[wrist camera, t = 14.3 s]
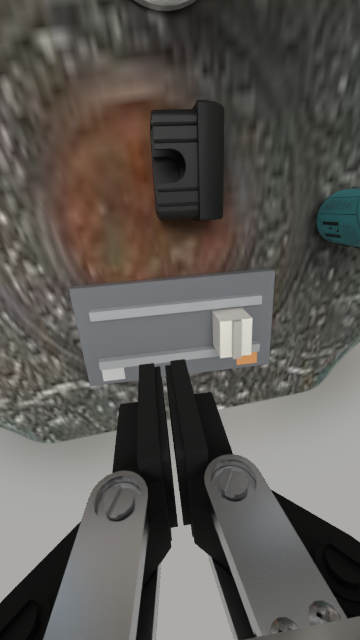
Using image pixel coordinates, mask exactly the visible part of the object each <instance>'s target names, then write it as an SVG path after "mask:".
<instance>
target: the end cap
mask: <svg viewBox="0 0 360 640" xmlns="http://www.w3.org/2000/svg"><path fill="white" fill-rule="evenodd" d="M150 138H151V151H152V164H153V178H154V191H155V204H156V213H157V217H158V218H159V219H161V220H166V219H184V218H191V219H194V220H198V221H205V220H216V219H221V218H222V217H223V169H224V108H223V106H222V105H221V104H219V103H217V102H214V101H208V100H197V101H196V103H195V105H194V107H193V109H183V110H153V111H151V119H150Z"/></svg>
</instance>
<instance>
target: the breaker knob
mask: <svg viewBox="0 0 360 640" xmlns="http://www.w3.org/2000/svg"><path fill="white" fill-rule="evenodd" d="M252 320H253V318H252V317H251V316H250V315H249V314H248V313H247V312H246V311H245V310H244V309H243V308H242V307H240V308H230V309H220V310H212V323H213V345H214V347H215V349H216V351H217V353H218V355H219V357H220V358H228V357H232V358H233V359H241V356H245V355H251V347H252Z"/></svg>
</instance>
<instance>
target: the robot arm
mask: <svg viewBox="0 0 360 640" xmlns="http://www.w3.org/2000/svg"><path fill="white" fill-rule="evenodd" d="M134 1H135V2H137V3H139V4H141V5H142V6H144V7H147V8H150V9H154V10H158V11H172V10H178V9H182V8H184V7H186V6H188V5H190V4H192V3H194V2H195V1H196V0H134ZM165 371H166V380H167V389H168V399H169V408H170V417H171V426H172V434H173V442H174V451H175V459H176V467H177V475H178V483H179V491H180V499H181V507H182V515H183V523H184V525H189V524H191V529H192V536H193V537H194V542H195V544H197V545H198V546H199V547H200V548H201V549H203V550H204V551H205V552H206V553H207V554H208V556H209V561H210V564H211V567H212V571H213V574H214V577H215V580H216V584H217V587H218V589H219V593H220V596H221V600H222V603H223V606H224V609H225V612H226V616H227V619H228V622H229V625H230V628H231V632H232V634H233V638H234V640H360V542H358V541H357V540H356V539H354V538H353V537H352V536H350V535H348V534H346V533H345V532H343V531H341V530H340V529H338V528H336V527H335V526H332V525H331V524H329V523H328V522H326V521H324V520H322V519H321V518H319V517H317V516H316V515H314V514H312V513H310V512H309V511H307V510H305V509H303V508H302V507H300V506H298V505H296V504H294V503H293V502H291V501H290V500H288V499H286V498H284V497H283V496H281V495H279V494H277V493H276V492H274V491H272V490H271V489H270V488H269V486H268V484H267V483H266V481H265V479H264V478H263V476H262V474H261V473H260V471H259V470H258V468H257V467H256V466H255V465H254V464H253V463H252V462H251V461H249V460H248V459H246V458H244V457H241V456H239V455H233V453H232V450H231V447H230V444H229V442H228V439H227V436H226V433H225V430H224V427H223V424H222V421H221V418H220V415H219V412H218V409H217V407H216V404H215V401H214V398H213V395H212V393H211V392H208V393H201V394H194V393H193V389H192V385H191V381H190V377H189V373H188V369H187V365H186V361H185V359H181V360H173V361H170V365H165ZM177 526H178V524H177V514H176V505H175V496H174V486H173V476H172V468H171V458H170V448H169V438H168V429H167V420H166V411H165V403H164V394H163V386H162V377H161V369H160V366H157V367H155V366H154V363H149V364H141V365H139V387H138V402H134V403H127V404H121V405H120V408H119V416H118V426H117V436H116V445H115V454H114V463H113V473H112V474H110V475H107V476H106V477H105V478H103V479H102V480H101V481H99V483H98V484H97V485H96V486H95V487H94V489H93V490H92V492H91V495H90V497H89V499H88V502H87V505H86V508H85V511H84V515H83V517H82V521H81V522H80V523H79V524H78V525H77V526H76V527H75V528H74V529H73V530H72V531H71V532H70V533H69V534H68V535H67V536H66V537H65V538H64V539H63V540H62V541H61V542H60V543H59V544H58V545H57V546H56V547H55V548H54V549H53V550H52V551H51V552H50V553H49V554H48V555H47V556H46V557H45V558H44V559H43V560H42V561H41V562H40V563H39V564H38V565H37V566H36V567H35V568H34V569H33V570H32V571H31V572H30V573H29V574H28V575H27V576H26V577H25V578H24V579H23V580H22V581H21V582H20V583H19V584H18V585H17V587H15V588H14V589H13V590H12V592H11V593H10V594H9V595H8V596H7V597H6V598H5V599H4V600H3V601H2V602H1V603H0V640H156V629H157V615H158V601H159V588H160V574H161V561H162V560H163V559H164V557H165V556H166V554H167V552H168V551H169V550H170V548H171V540H172V538H171V528H172V527H177Z"/></svg>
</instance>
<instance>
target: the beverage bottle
mask: <svg viewBox="0 0 360 640" xmlns="http://www.w3.org/2000/svg"><path fill="white" fill-rule="evenodd" d="M352 188H355V187H352ZM344 189H345V188H344ZM317 229H318V231H319V233H320V235H321V236H322V237H323V238H324V239H326V240H327V241H328V242H330V243H331V242H332V244H333V243H337V245H339V244H342V245H341V246H347V245H348V247H350V246H353V247H355V248H359V247H360V188H359V187H358V188H356V189H346V190H341V191H338V192H336V193H334V194H333V195H331V196H330V197H328V198H327V199H326V200H325V201H324V203H323V204H322V206H321V207H320V210H319V212H318V215H317ZM349 245H350V246H349Z"/></svg>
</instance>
